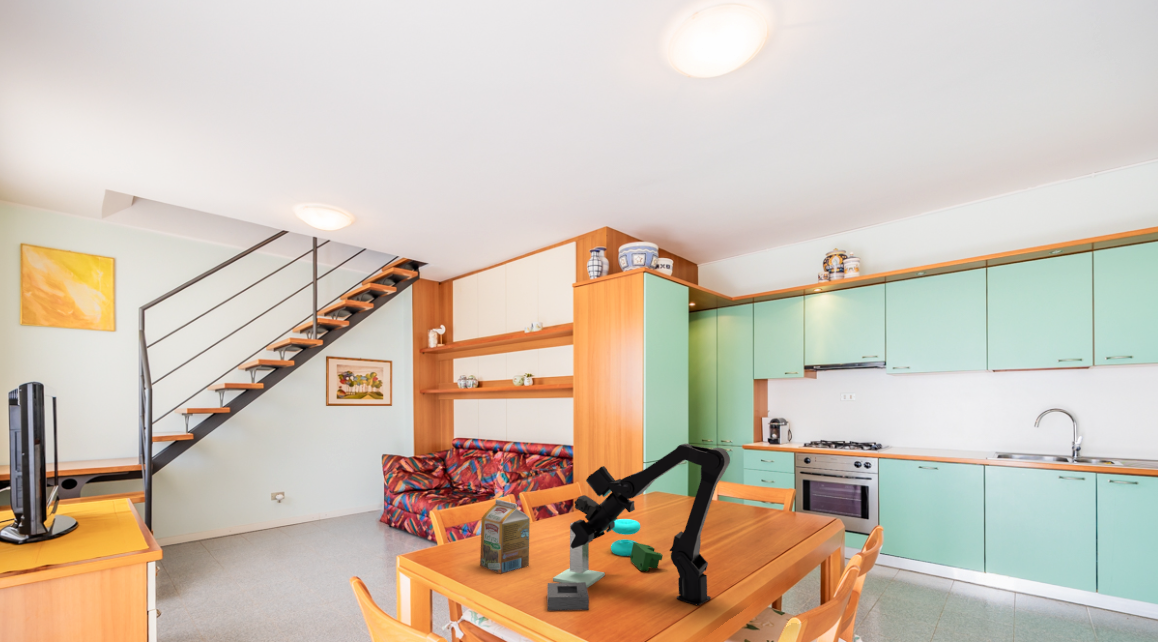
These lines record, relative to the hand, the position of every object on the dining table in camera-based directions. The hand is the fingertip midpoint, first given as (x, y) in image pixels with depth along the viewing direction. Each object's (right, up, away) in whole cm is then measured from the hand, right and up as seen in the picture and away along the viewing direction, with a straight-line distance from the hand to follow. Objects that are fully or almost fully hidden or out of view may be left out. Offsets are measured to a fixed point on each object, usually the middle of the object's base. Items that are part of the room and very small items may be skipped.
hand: (575, 545), depth 152 cm
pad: (+1, -9, -2) cm, 9 cm away
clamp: (+22, -11, +9) cm, 26 cm away
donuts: (+17, -13, +23) cm, 31 cm away
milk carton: (-22, -10, +9) cm, 26 cm away
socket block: (-2, -6, -19) cm, 21 cm away
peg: (+1, -7, -2) cm, 7 cm away
